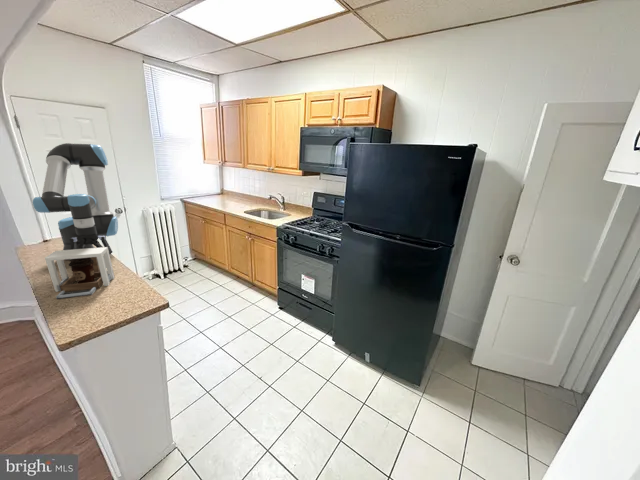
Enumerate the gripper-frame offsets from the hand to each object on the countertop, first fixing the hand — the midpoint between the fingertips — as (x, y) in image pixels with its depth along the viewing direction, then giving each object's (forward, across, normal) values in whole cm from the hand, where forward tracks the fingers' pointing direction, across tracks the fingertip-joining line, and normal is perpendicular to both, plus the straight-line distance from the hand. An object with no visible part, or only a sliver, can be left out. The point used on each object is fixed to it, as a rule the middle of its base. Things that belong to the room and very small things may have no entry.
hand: (95, 268), depth 135 cm
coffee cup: (+3, 0, -12) cm, 13 cm away
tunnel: (+3, 0, -12) cm, 13 cm away
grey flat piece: (+3, 0, -22) cm, 23 cm away
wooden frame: (+3, 0, -9) cm, 9 cm away
